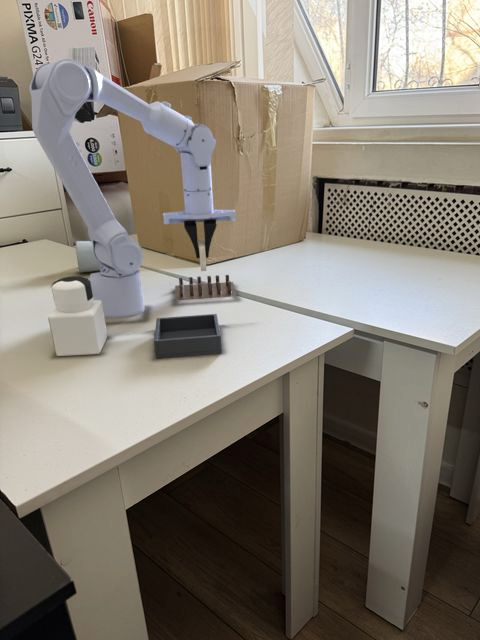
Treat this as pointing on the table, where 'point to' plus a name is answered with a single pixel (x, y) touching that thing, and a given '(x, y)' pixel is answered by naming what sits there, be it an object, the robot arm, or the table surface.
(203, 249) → the saucer
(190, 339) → the dark grey open box
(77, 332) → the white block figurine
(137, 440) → the table surface
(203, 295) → the dish rack
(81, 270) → the ceramic mug
